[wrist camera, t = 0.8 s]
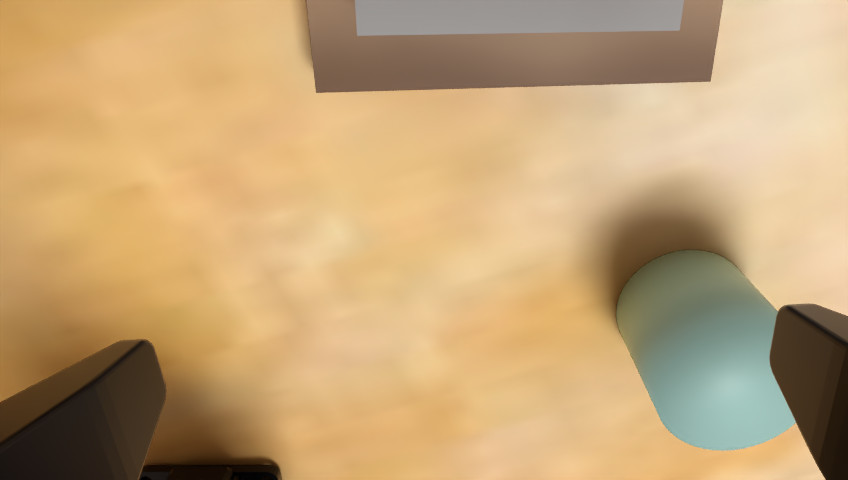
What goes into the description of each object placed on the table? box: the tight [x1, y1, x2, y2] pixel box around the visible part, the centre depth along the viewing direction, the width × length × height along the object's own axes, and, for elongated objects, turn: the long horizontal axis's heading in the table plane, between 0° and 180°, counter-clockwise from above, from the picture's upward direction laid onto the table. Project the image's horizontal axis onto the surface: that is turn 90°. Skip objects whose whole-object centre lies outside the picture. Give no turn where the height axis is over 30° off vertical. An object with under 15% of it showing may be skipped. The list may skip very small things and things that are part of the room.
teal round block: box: [616, 250, 796, 451], centre depth 22 cm, size 5×5×5 cm
